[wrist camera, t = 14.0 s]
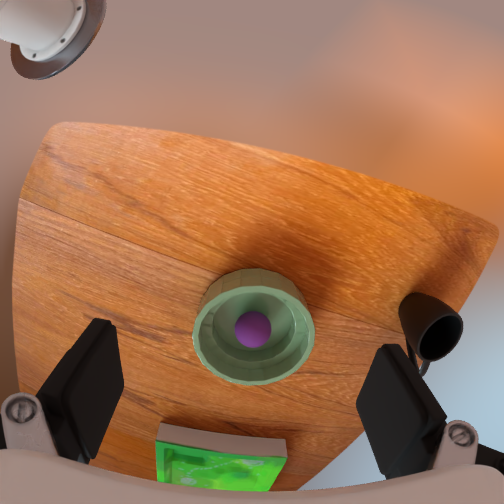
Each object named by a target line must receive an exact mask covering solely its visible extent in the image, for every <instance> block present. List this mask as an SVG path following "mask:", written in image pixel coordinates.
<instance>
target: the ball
mask: <svg viewBox="0 0 504 504" xmlns="http://www.w3.org/2000/svg"><path fill="white" fill-rule="evenodd" d="M271 331H272V328H271V323H270V321H269V319H268V318H267V317H266V316H265V315H264V314H262V313H260V312H257V311H249V312H246V313H244V314H242V315H241V316H240V317H239V318H238V319H237V321H236V323H235V335H236V338H237V339H238V341H239V342H240V343H241V344H243V345H245V346H247V347H251V348H254V347H259V346H262V345H263V344H265V343H266V342H267V341H268V339H269V338H270V335H271Z"/></svg>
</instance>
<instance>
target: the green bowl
mask: <svg viewBox="0 0 504 504" xmlns="http://www.w3.org/2000/svg"><path fill="white" fill-rule="evenodd" d="M249 311H257V312H260V313H262V314H264V315H265V316H266V317H267V318H268V319H269V321H270V323H271V328H272V331H271V335H270V338H269V339H268V341H267V342H266V343H265V344H263V345H262V346H259V347H254V348H251V347H247V346H245V345H243V344H241V343H240V342H239V341H238V339H237V338H236V335H235V323H236V321H237V319H238V318H239V317H240V316H241V315H242V314H244V313H246V312H249ZM192 337H193V343H194V349H195V352H196V353H197V355H198V357H199V358H200V360H201V362H202V363H203V365H204V366H206V367H207V368H208V369H209V370H210V371H211V372H212V373H213V374H215V375H217V376H219V377H221V378H223V379H225V380H227V381H229V382H232V383H237V384H243V385H265V384H269V383H272V382H276V381H279V380H282V379H284V378H285V377H287V376H289V375H290V374H292V373H294V372H295V371H297V370H298V369H299V368H300V366H301V365H302V364H303V363H304V362H305V361H306V360H307V359H308V357H309V355H310V353H311V350H312V348H313V346H314V340H315V327H314V323H313V320H312V317H311V314H310V312H309V309H308V306H307V304H306V301H305V298H304V296H303V294H302V293H301V291H300V290H299V289H298V288H297V286H296V285H295V284H294V283H293V282H292V281H291V280H289V279H287V278H286V277H284V276H282V275H281V274H279V273H277V272H273V271H269V270H265V269H261V268H254V269H240V270H237V271H235V272H232V273H229V274H226V275H223V276H222V277H221V278H220V279H218V280H217V281H216V282H214V283H213V284H212V285H210V286H209V288H208V289H207V291H206V292H205V294H204V295H203V297H202V298H201V301H200V305H199V308H198V312H197V316H196V319H195V324H194V328H193V333H192Z"/></svg>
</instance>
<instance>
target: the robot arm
mask: <svg viewBox="0 0 504 504" xmlns="http://www.w3.org/2000/svg"><path fill="white" fill-rule="evenodd" d="M85 14H86V2H85V0H0V39H2V40H5V41H8V42H11V43H14V44H17V45H20V50H21V52H22V54H23V55H24V56H25V58H27V59H29V60H33V61H43V60H47V59H49V58H51V57H53V56H55V55H56V54H58V53H59V52H60V51H62V50H63V49H64V48H65V47H66V46H67V45H68V44H69V43H70V42H71V41H72V40H73V38H74V37H75V36H76V34H77V33H78V31H79V29H80V27H81V25H82V23H83V21H84V18H85ZM123 389H124V379H123V373H122V367H121V361H120V354H119V347H118V340H117V332H116V327H115V326H114V325H112V323H111V321H110V320H105V319H99V318H94V319H93V320H92V322H91V323H90V324H89V325H88V327H87V328H86V329H85V331H84V332H83V333H82V334H81V336H80V337H79V338H78V340H77V341H76V342H75V344H74V345H73V346H72V348H71V349H69V350H68V351H67V352H66V354H65V355H64V356H63V358H62V359H61V360H60V362H59V363H58V364H57V366H56V367H55V369H54V370H53V371H52V373H51V374H50V376H49V377H48V378H47V380H46V381H45V383H44V384H43V385H42V387H41V388H40V390H39V391H38V393H37V394H36V396H34V395H32V394H29V393H16V394H13V395H11V396H10V397H8V398H7V399H6V400H5V401H4V402H3V404H2V407H1V414H0V504H504V453H502V452H499V451H497V450H494V449H491V448H489V447H486V446H484V445H481V444H479V443H478V434H477V431H476V430H475V429H474V427H473V426H471V425H470V424H469V423H467V422H465V421H461V420H454V421H451V422H449V423H448V424H447V423H446V421H445V420H446V418H447V415H446V414H445V412H444V411H443V409H442V408H441V406H440V405H439V403H438V401H437V400H436V398H435V397H434V395H433V394H432V392H431V391H430V389H429V388H428V386H427V384H426V383H425V381H424V380H423V379H422V377H421V375H420V374H419V372H418V371H417V370H416V368H415V367H414V365H413V364H412V362H411V361H410V359H409V358H408V356H407V355H406V354H405V352H404V351H403V349H402V348H401V346H400V345H399V344H383V345H382V347H381V348H379V349H378V350H377V352H376V354H375V357H374V360H373V362H372V365H371V367H370V370H369V372H368V374H367V377H366V379H365V382H364V384H363V386H362V388H361V391H360V393H359V395H358V398H357V400H356V408H357V411H358V413H359V416H360V418H361V421H362V424H363V426H364V429H365V432H366V434H367V437H368V440H369V442H370V445H371V448H372V450H373V453H374V456H375V459H376V462H377V464H378V467H379V470H380V472H381V474H383V475H385V477H386V480H383V481H378V482H373V483H367V484H360V485H354V486H347V487H338V488H330V489H318V490H304V491H278V492H258V491H232V490H218V489H207V488H198V487H189V486H182V485H175V484H169V483H163V482H157V481H152V480H147V479H142V478H138V477H133V476H129V475H125V474H120V473H116V472H112V471H108V470H105V469H101V468H97V467H94V466H91V465H88V464H89V461H90V459H95V457H96V455H97V453H98V450H99V447H100V445H101V442H102V440H103V437H104V435H105V432H106V430H107V427H108V425H109V423H110V420H111V418H112V415H113V413H114V411H115V408H116V406H117V403H118V401H119V399H120V396H121V394H122V392H123Z"/></svg>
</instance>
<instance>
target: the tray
mask: <svg viewBox="0 0 504 504" xmlns="http://www.w3.org/2000/svg"><path fill="white" fill-rule="evenodd" d="M287 458H288V457H287V449H286V441H285V439H274V438H260V437H249V436H239V435H231V434H223V433H216V432H209V431H203V430H197V429H191V428H185V427H180V426H175V425H170V424H165V423H161V422H160V426H159V430H158V434H157V438H156V464H157V481H158V482H163V483H169V484H175V485H182V486H189V487H198V488H207V489H218V490H232V491H258V492H268V490H269V489H270V487H271V485H272V484H273V482H274V481H275V479H276V477H277V476H278V474H279V472H280V470H281V469H282V467H283V465H284V464H285V462H286V460H287Z"/></svg>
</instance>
